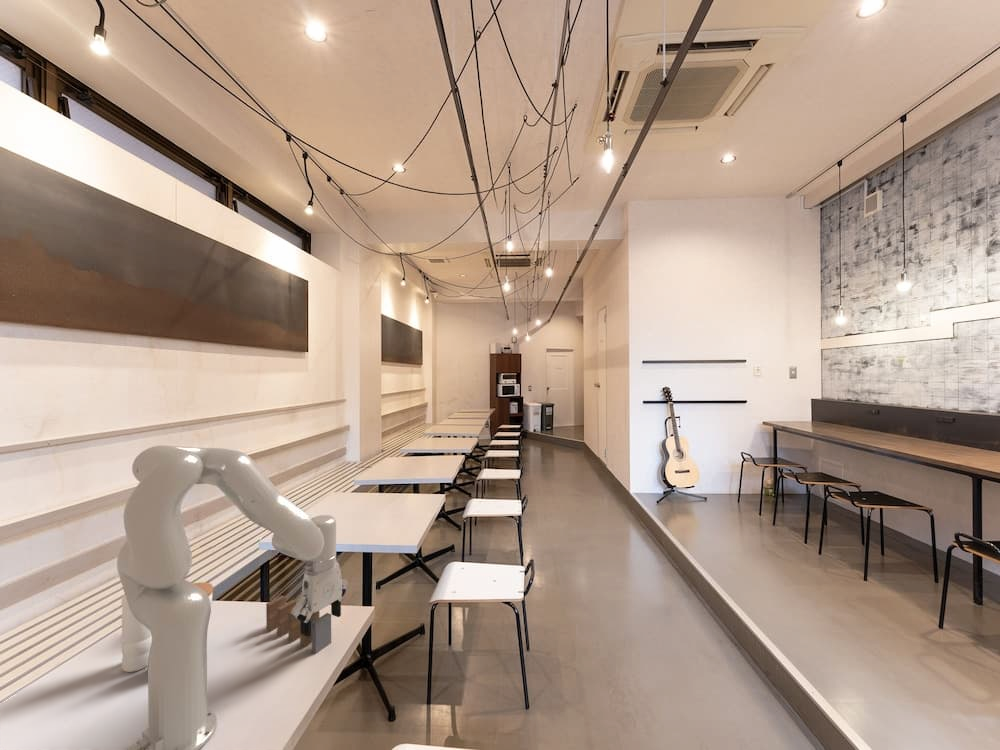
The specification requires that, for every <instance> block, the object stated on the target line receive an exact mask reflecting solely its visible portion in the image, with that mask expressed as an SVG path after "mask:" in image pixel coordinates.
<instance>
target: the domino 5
mask: <svg viewBox="0 0 1000 750" xmlns="http://www.w3.org/2000/svg"><path fill="white" fill-rule="evenodd" d="M331 644H332V614H331V613H328V612H326V613H324V614H323V615H321V616H319V618H318V619H317V620H315V621H313V622H312V643H311V653H313V654H319V652H321V651H322V650H323V649H325V648H326V647H328V646H329V645H331Z"/></svg>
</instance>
